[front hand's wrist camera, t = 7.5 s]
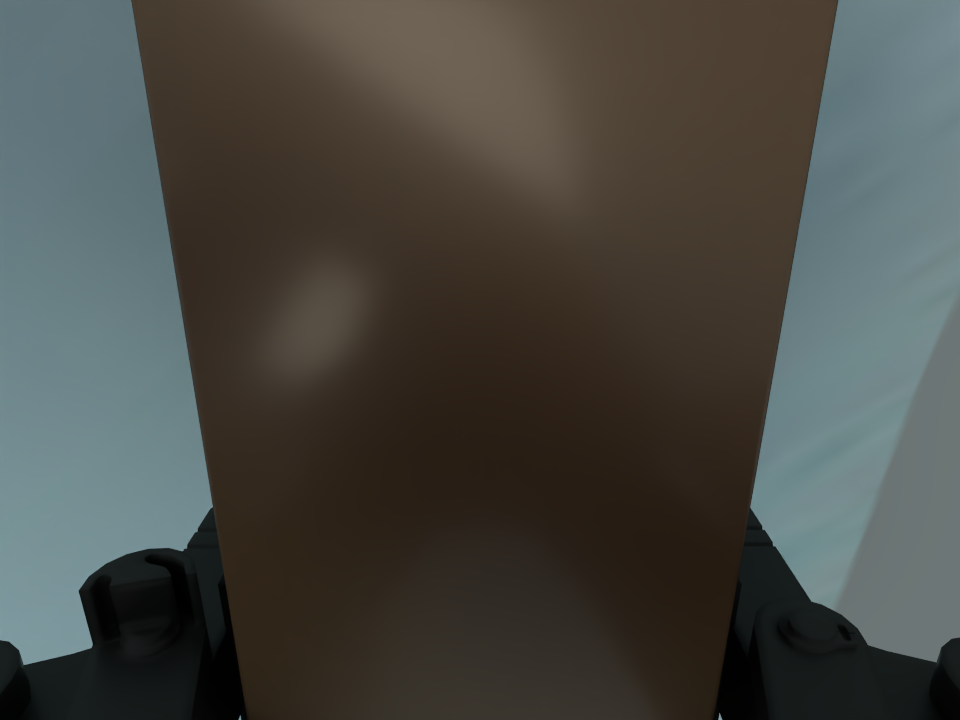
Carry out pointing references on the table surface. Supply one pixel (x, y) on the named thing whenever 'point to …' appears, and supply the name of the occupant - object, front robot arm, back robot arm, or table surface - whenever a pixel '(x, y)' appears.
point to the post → (482, 335)
